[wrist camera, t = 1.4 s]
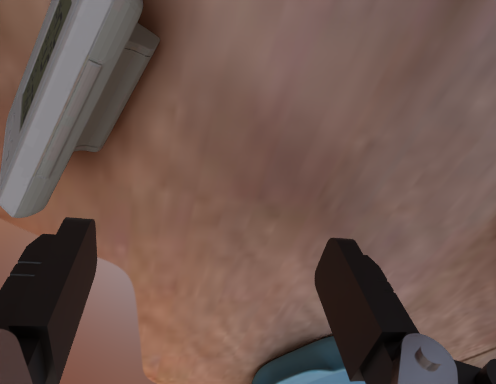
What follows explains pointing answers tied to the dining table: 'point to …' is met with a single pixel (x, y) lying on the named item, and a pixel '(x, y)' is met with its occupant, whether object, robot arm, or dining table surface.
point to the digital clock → (70, 94)
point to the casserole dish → (307, 366)
